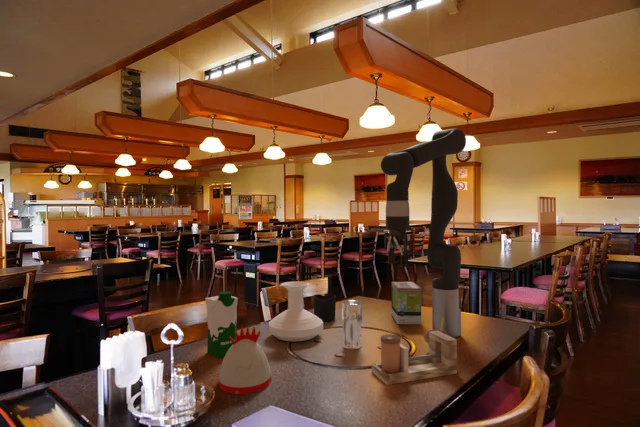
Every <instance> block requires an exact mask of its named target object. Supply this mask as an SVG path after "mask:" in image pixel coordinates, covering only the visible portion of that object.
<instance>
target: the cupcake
mask: <svg viewBox="0 0 640 427" xmlns="http://www.w3.org/2000/svg"><path fill="white" fill-rule="evenodd" d="M443 323H444V316H443V318H442V322H441V328H440V329H434V330H432V329H429V330H428V331H426V332H425V333H424V336H423V339H424V341H425V342H426V343H427V344H428V346H429V332H431V331H439V332H442V333H444V334H446V335H448V336H450V334H448V333H447V332H446V331H444V330H442V329H443ZM450 337H451V336H450Z"/></svg>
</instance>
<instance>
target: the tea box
mask: <svg viewBox="0 0 640 427" xmlns="http://www.w3.org/2000/svg"><path fill="white" fill-rule="evenodd" d="M390 311H391V312H390V313H391V316H392V317H393V319H394V321H395V323H396V325H421V324H422V288H421V286H419V284H417V283H415V282H414V281H391V310H390Z"/></svg>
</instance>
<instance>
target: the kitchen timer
mask: <svg viewBox="0 0 640 427" xmlns="http://www.w3.org/2000/svg"><path fill="white" fill-rule="evenodd" d="M235 334H236V338H237V339H236V340H233V339H232V338H231V337H230V339H231V342H232V343H233V345H232V346H231V347H230V348H229V350H228V351H227V353H226V355H225V356H224V357H223V360H222V362H221V366H220V369H219V373H218V374H219V375H218V387H219V389H220V390H222V391H224V392H226V393H229V394H238V395H245V394H251V393H256V392H259V391H262V390H264V389H265V387H266V388H267V387H269V385H270V384H271V382H272V371H271V366H270V364H269V360H268V357H267V355H268V353H267V351H265V350H264V349H263V348H262V346H261V345H260V344H259V343H258V342H257V341H258V339H259V337H260V335H261V330H259V331H258V332H257V333H256V327H255V326H253V328H252V331H251V333H250V330H249V327H248V326H246V331H245V332H244V329H243V326H241V327H240V334H239V333H238V331H237V332H235ZM258 390H259V391H258ZM255 391H256V392H255Z"/></svg>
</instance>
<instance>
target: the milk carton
mask: <svg viewBox="0 0 640 427" xmlns="http://www.w3.org/2000/svg"><path fill="white" fill-rule="evenodd" d="M204 299H205V305H206V315H207V316H206V319H207V320H206V321H207V322H206V323H207V324H206V325H207V348H206V350H207V351H206V352H207V354H209V355H211V356H213V357H216V358H217V359H220V358H224V357H225V355H226V353H227V351H228V350H229V348H230V347H231V346H232V345H233V343H232V342H231V339H230V337H231V338H232V339H233V340H236V339H237V338H236V334H235V332H237V333H238V331H237V330H238V328H237V327H238V326H237V322H238V321H237V320H238V319H237V318H238V317H237V307H238V301H239V298H238V297H236V296H232V291H231V290H230V291H228V290H225V291H219V292H218V295H215V296H211V297H209V296H208V297H205V298H204Z"/></svg>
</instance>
